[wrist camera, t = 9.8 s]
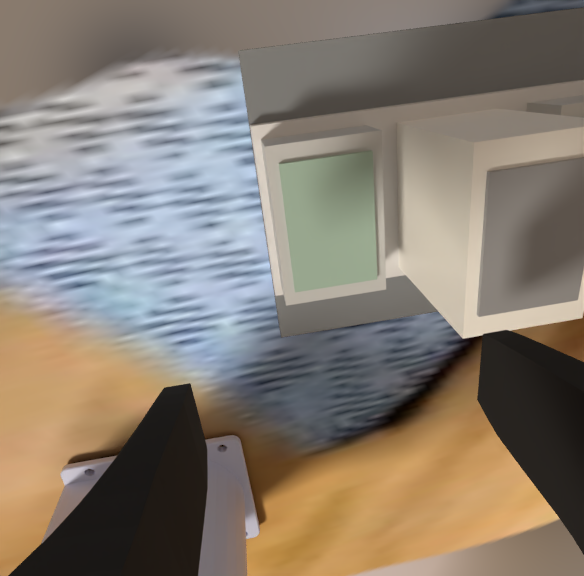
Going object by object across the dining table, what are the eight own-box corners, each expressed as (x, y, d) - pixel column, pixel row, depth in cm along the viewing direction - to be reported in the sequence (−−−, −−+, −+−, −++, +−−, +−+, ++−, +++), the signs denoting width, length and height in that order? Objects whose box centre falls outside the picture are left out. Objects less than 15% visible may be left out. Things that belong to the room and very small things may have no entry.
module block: (398, 267, 20) (465, 341, 14) (396, 122, 17) (477, 143, 11) (486, 253, 20) (585, 320, 14) (497, 108, 17) (624, 121, 12)
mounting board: (279, 326, 22) (288, 372, 18) (238, 52, 17) (240, 45, 13) (568, 279, 23) (628, 314, 19) (615, 5, 18) (708, -14, 14)
